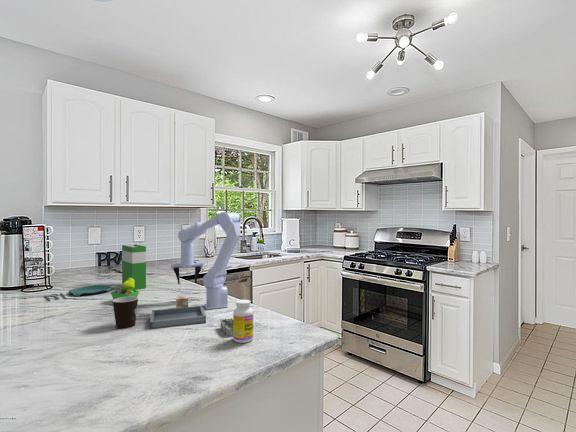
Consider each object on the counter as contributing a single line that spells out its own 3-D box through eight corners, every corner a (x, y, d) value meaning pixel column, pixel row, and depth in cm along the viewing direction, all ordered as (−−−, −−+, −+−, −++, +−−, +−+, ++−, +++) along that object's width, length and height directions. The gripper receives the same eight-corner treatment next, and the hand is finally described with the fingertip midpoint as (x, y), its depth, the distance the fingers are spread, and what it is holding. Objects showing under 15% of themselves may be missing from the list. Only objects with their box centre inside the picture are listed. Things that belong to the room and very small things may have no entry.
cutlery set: (115, 292, 177) (115, 288, 177) (47, 303, 157) (47, 298, 157) (105, 287, 192) (105, 283, 192) (42, 296, 171) (42, 292, 171)
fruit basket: (109, 303, 156) (109, 279, 156) (125, 298, 164) (125, 276, 164) (127, 305, 151) (127, 281, 151) (142, 300, 160) (142, 277, 160)
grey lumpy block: (247, 334, 115) (247, 323, 115) (226, 338, 111) (226, 326, 111) (238, 325, 124) (238, 314, 124) (218, 328, 121) (218, 317, 121)
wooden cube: (187, 306, 149) (187, 295, 149) (188, 309, 145) (188, 298, 145) (176, 307, 148) (176, 296, 148) (176, 310, 143) (176, 299, 143)
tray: (202, 311, 141) (202, 305, 141) (205, 322, 126) (205, 316, 126) (152, 316, 135) (152, 310, 135) (149, 328, 120) (149, 322, 120)
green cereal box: (122, 285, 194) (122, 245, 194) (135, 283, 199) (135, 244, 199) (132, 290, 182) (132, 247, 182) (146, 288, 187) (145, 246, 187)
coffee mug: (127, 330, 118) (127, 302, 118) (107, 329, 120) (107, 301, 120) (147, 320, 129) (147, 295, 129) (128, 319, 131) (128, 294, 131)
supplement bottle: (244, 345, 104) (244, 305, 104) (229, 341, 108) (228, 302, 108) (257, 338, 110) (257, 300, 110) (242, 334, 114) (242, 297, 114)
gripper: (202, 253, 162) (202, 280, 162) (171, 254, 157) (171, 282, 157) (203, 254, 155) (203, 283, 155) (171, 255, 150) (171, 285, 150)
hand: (187, 283), depth 156 cm, fingers open, 7 cm apart
